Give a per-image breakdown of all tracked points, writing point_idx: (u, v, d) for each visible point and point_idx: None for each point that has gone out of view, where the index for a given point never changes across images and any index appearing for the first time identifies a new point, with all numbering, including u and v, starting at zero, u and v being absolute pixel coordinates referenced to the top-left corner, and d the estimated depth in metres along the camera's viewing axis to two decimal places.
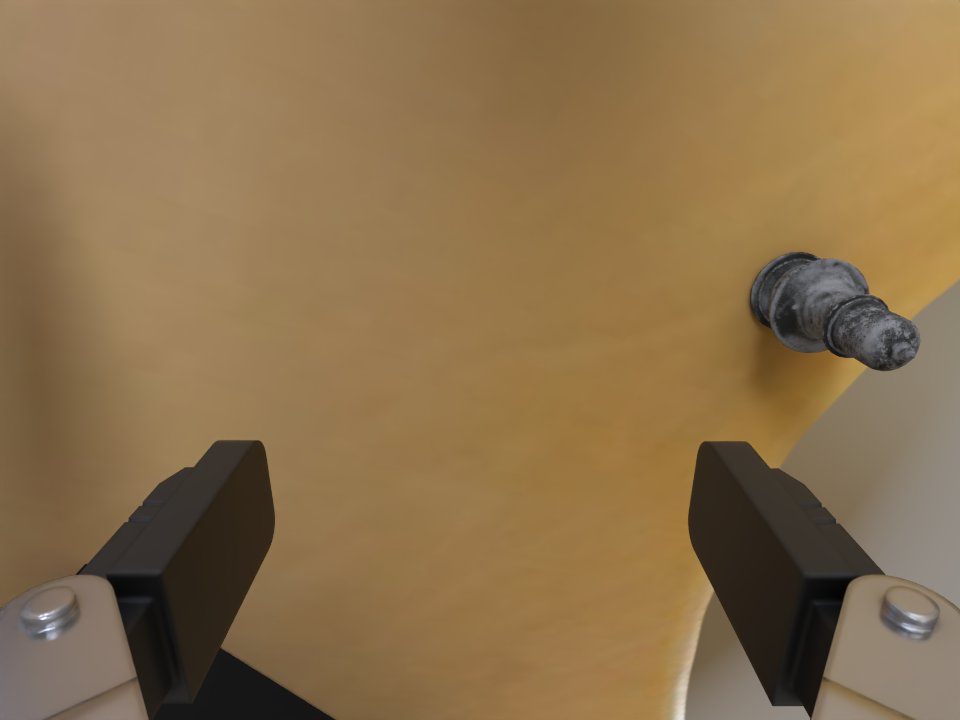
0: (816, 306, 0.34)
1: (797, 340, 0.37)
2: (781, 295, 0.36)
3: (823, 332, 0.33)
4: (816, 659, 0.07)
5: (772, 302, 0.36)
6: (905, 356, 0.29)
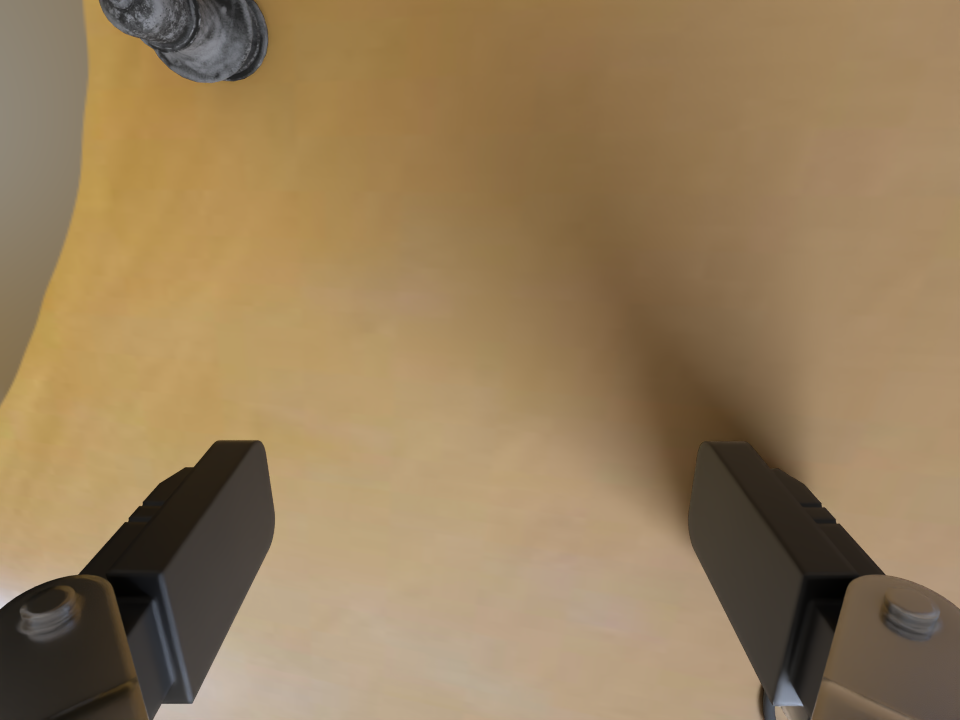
0: (209, 17, 0.31)
1: None
2: (243, 16, 0.33)
3: None
4: (816, 659, 0.07)
5: (246, 4, 0.32)
6: None
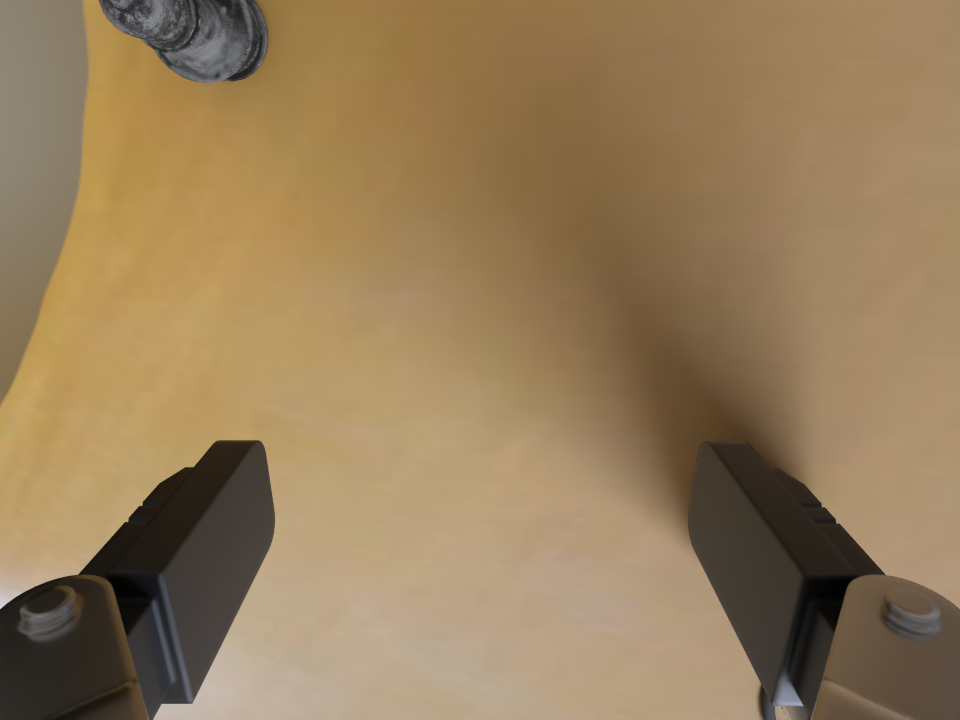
0: (209, 17, 0.31)
1: None
2: (243, 16, 0.33)
3: None
4: (816, 659, 0.07)
5: (246, 4, 0.32)
6: None
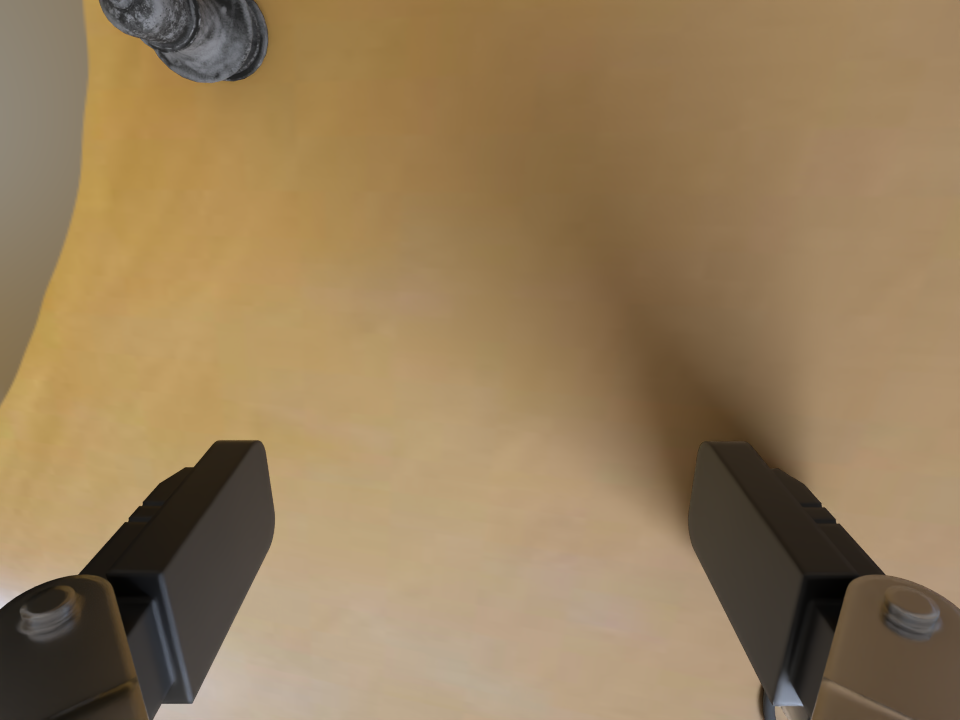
0: (209, 17, 0.31)
1: None
2: (243, 16, 0.33)
3: None
4: (816, 659, 0.07)
5: (246, 4, 0.32)
6: None
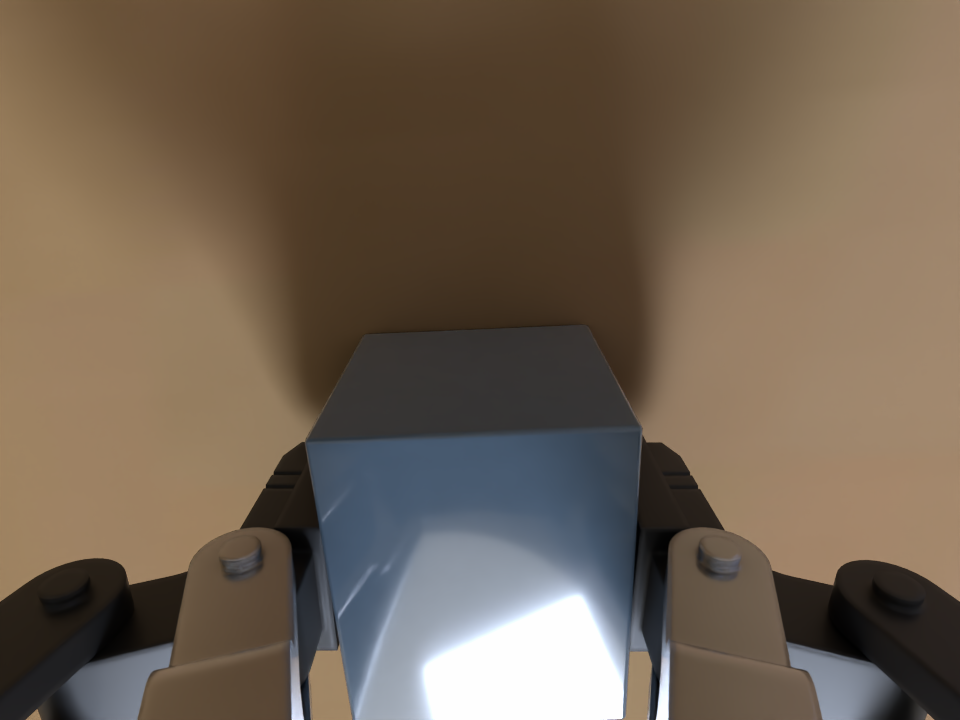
0: None
1: None
2: None
3: None
4: (653, 604, 0.08)
5: None
6: None
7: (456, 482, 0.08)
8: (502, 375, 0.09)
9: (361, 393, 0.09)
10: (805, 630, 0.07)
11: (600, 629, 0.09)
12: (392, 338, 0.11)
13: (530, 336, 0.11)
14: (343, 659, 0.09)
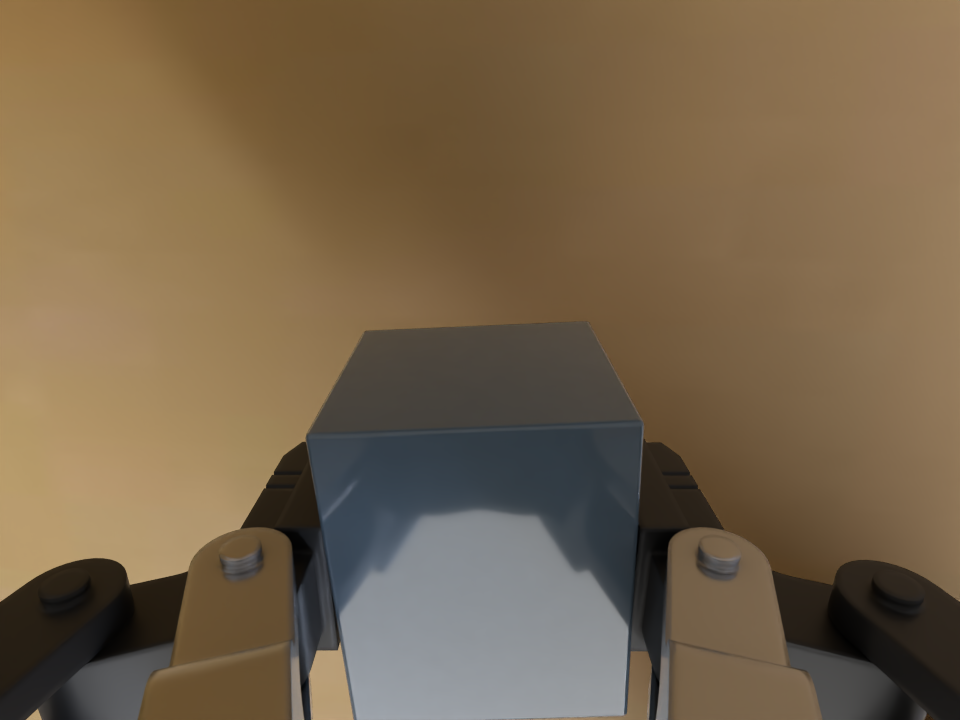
0: None
1: None
2: None
3: None
4: (652, 604, 0.08)
5: None
6: None
7: (457, 476, 0.08)
8: (503, 371, 0.09)
9: (361, 389, 0.09)
10: (805, 630, 0.07)
11: (602, 626, 0.09)
12: (393, 335, 0.11)
13: (531, 332, 0.11)
14: (344, 655, 0.09)
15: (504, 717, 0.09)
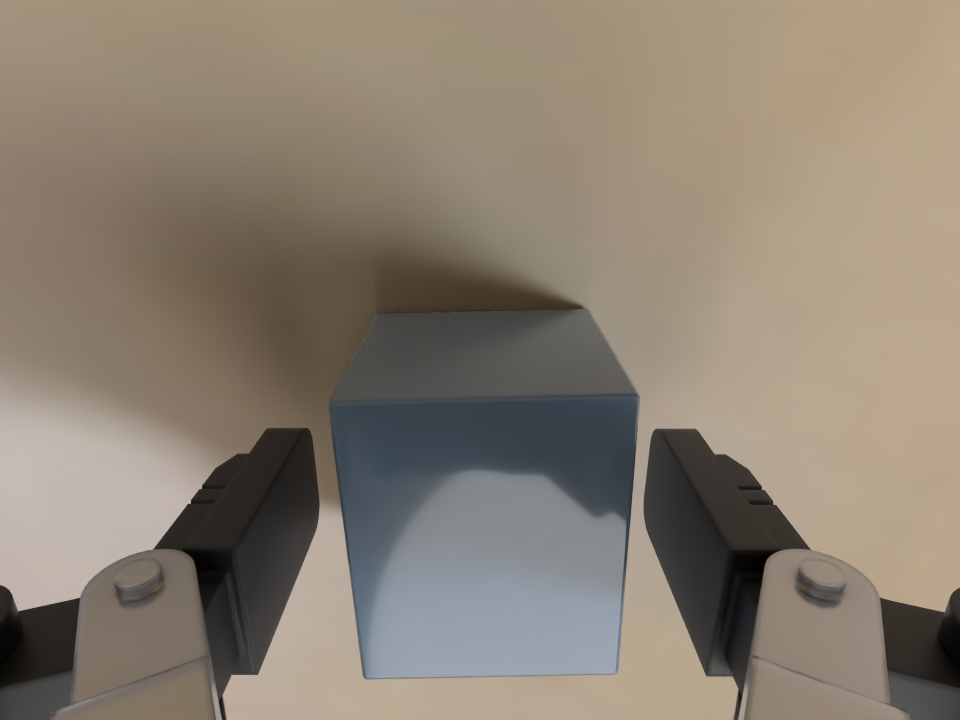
0: None
1: None
2: None
3: None
4: (741, 629, 0.08)
5: None
6: None
7: (467, 443, 0.09)
8: (509, 350, 0.10)
9: (377, 363, 0.10)
10: (918, 661, 0.07)
11: (597, 587, 0.09)
12: (404, 318, 0.12)
13: (534, 317, 0.12)
14: (356, 612, 0.10)
15: (503, 673, 0.10)
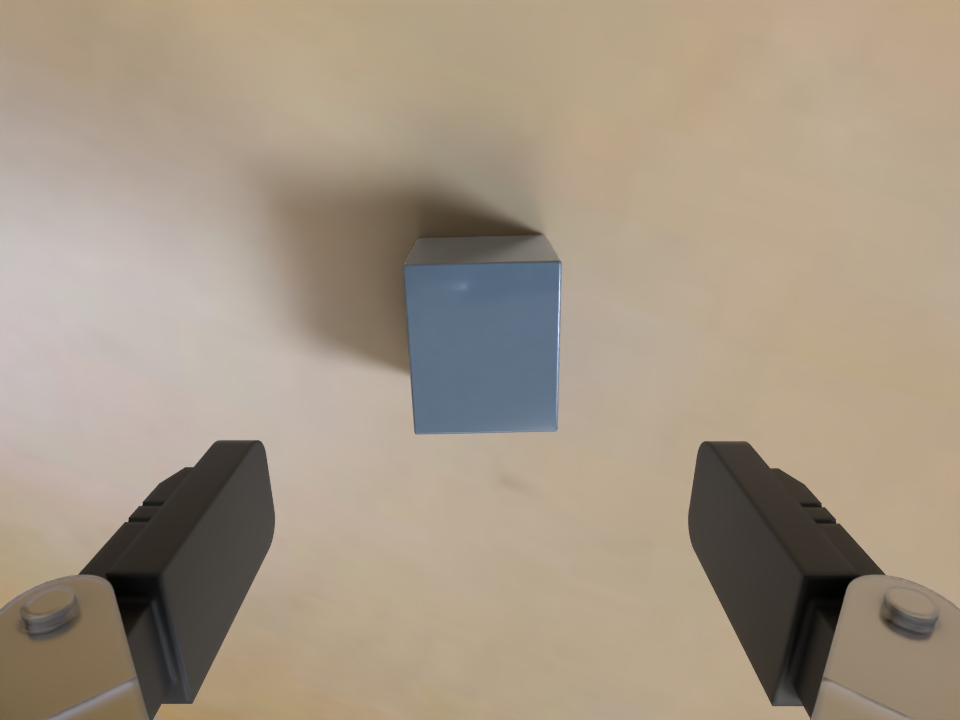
0: None
1: None
2: None
3: None
4: (816, 659, 0.07)
5: None
6: None
7: (474, 288, 0.17)
8: (496, 249, 0.18)
9: (424, 254, 0.18)
10: None
11: (543, 374, 0.17)
12: (435, 239, 0.20)
13: (512, 238, 0.20)
14: (412, 390, 0.18)
15: (493, 430, 0.18)
